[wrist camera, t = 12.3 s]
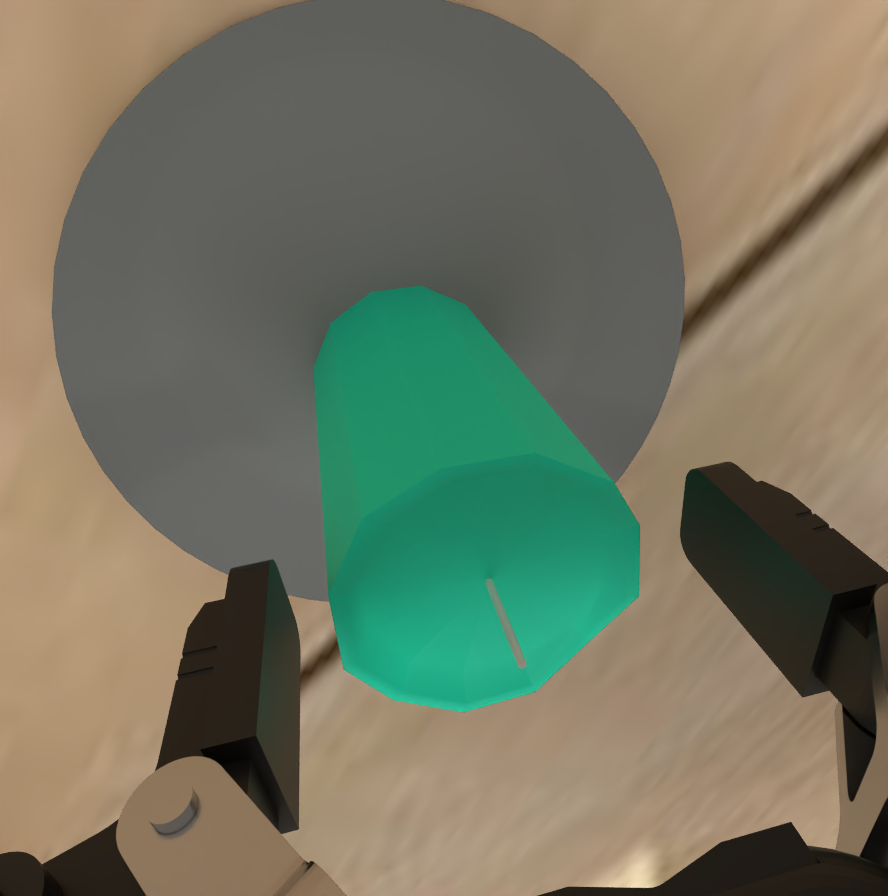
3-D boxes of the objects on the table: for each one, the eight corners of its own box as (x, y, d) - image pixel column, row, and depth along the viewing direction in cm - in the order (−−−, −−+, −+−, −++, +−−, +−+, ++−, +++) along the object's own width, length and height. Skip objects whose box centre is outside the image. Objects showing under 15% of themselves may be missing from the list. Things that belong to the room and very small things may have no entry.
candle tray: (689, -44, 17) (715, -53, 16) (651, 522, 27) (665, 538, 26) (-83, 54, 14) (-111, 51, 13) (196, 631, 25) (192, 654, 24)
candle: (358, 480, 21) (414, 823, 11) (279, 330, 18) (258, 617, 8) (514, 415, 21) (711, 699, 11) (462, 254, 18) (671, 445, 8)
